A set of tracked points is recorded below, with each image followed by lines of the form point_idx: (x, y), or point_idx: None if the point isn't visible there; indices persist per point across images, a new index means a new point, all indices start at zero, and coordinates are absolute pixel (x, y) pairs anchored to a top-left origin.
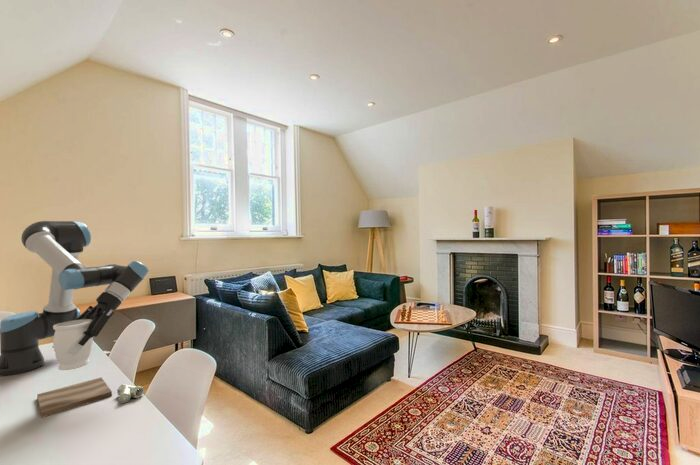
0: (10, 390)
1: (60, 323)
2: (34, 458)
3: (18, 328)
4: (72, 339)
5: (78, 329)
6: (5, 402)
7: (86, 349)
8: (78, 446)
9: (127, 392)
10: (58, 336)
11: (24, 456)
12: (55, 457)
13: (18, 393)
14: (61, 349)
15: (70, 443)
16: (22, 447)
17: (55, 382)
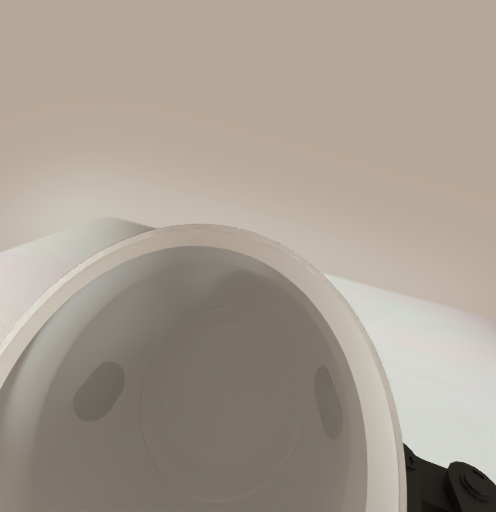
0: (464, 320)
1: (364, 339)
2: (63, 232)
3: None
4: (110, 336)
5: (45, 384)
6: (371, 286)
7: (140, 424)
8: (16, 273)
9: None
10: (179, 273)
11: (85, 228)
12: (30, 245)
13: (417, 321)
14: (180, 304)
15: (40, 272)
16: (116, 235)
17: (433, 414)
